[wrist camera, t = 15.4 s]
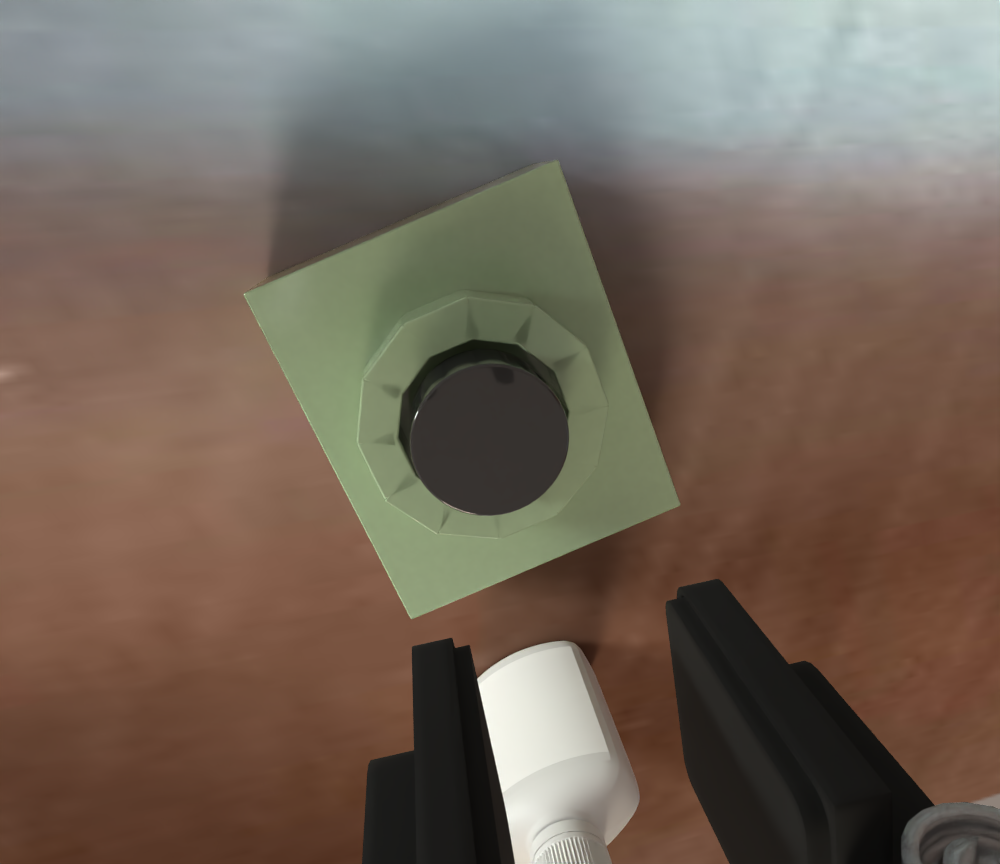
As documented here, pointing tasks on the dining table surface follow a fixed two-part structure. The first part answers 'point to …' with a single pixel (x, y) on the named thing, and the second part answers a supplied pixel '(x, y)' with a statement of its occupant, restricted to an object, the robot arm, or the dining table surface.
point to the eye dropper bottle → (557, 756)
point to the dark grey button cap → (487, 432)
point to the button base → (451, 330)
